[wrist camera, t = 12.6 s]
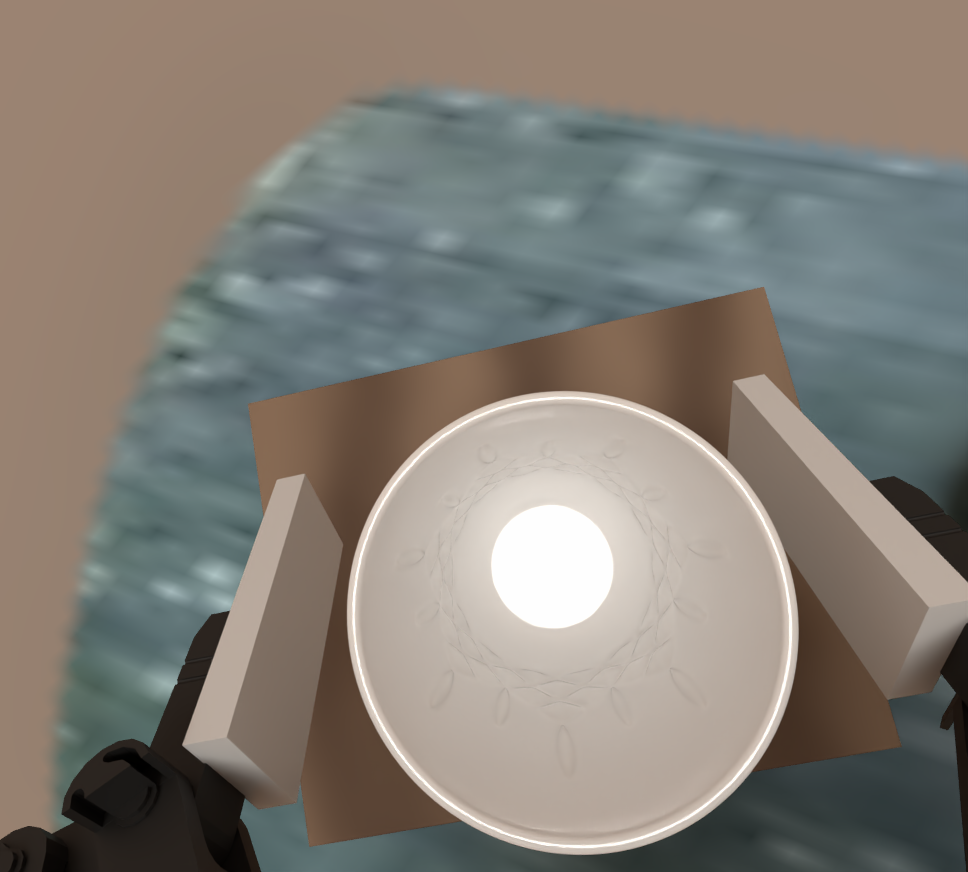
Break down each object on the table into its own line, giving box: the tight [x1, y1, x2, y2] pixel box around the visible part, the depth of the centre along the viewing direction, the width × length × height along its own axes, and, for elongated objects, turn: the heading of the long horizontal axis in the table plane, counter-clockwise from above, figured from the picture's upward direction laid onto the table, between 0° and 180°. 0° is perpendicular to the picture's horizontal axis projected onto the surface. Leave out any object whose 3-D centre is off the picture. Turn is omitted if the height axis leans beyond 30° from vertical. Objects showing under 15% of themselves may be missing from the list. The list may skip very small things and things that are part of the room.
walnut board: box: [248, 287, 902, 847], centre depth 20 cm, size 20×16×1 cm
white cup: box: [347, 391, 799, 855], centre depth 15 cm, size 8×8×10 cm
